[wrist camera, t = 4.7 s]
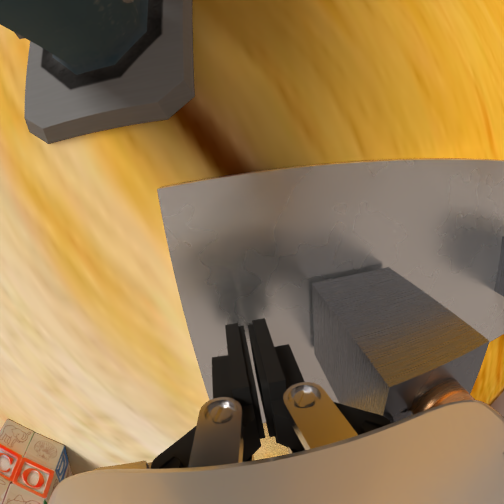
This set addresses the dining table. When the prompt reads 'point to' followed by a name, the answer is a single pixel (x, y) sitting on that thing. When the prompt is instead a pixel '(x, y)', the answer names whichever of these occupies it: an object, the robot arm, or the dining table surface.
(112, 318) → the dining table surface
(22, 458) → the stack of blocks
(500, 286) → the fixed leg
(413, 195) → the hole plate
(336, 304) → the block
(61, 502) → the robot arm
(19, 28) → the curved pipe assembly
